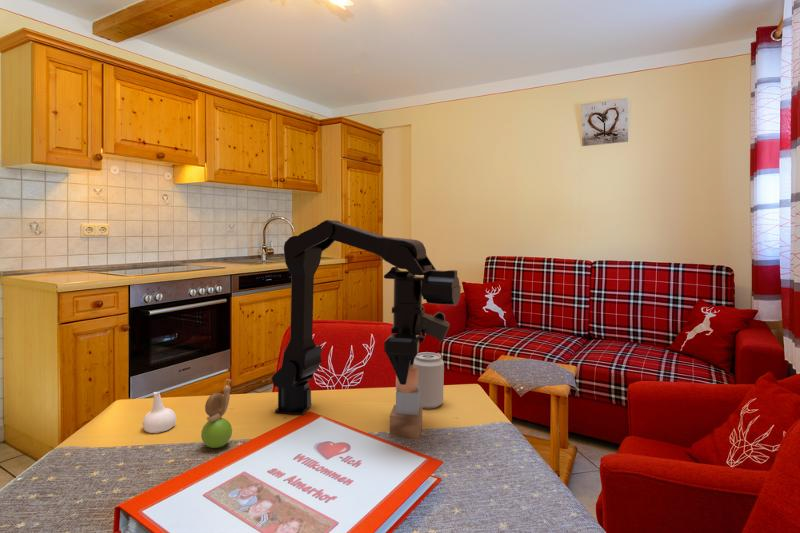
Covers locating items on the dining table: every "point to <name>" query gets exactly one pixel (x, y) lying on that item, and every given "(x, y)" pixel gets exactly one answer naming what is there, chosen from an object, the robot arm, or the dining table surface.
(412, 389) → the terracotta cylinder
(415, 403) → the slate cube
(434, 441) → the dining table surface
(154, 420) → the garlic bulb
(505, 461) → the dining table surface
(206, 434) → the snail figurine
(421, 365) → the can
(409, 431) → the walnut base block
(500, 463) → the dining table surface
